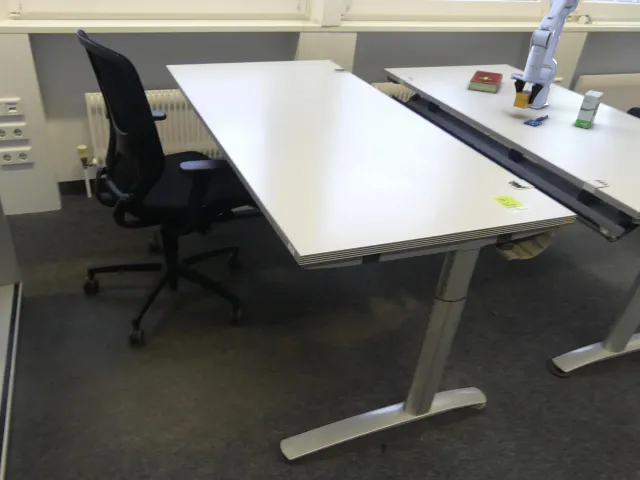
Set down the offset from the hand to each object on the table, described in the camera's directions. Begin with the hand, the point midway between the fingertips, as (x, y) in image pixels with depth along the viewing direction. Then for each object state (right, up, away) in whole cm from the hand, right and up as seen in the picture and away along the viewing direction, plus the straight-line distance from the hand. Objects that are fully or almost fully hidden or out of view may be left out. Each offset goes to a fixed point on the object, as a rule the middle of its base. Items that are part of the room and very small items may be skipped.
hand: (524, 102), depth 210 cm
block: (0, -1, +1) cm, 1 cm away
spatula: (+5, -8, -1) cm, 9 cm away
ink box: (+21, -9, -2) cm, 24 cm away
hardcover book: (0, +19, +40) cm, 44 cm away
